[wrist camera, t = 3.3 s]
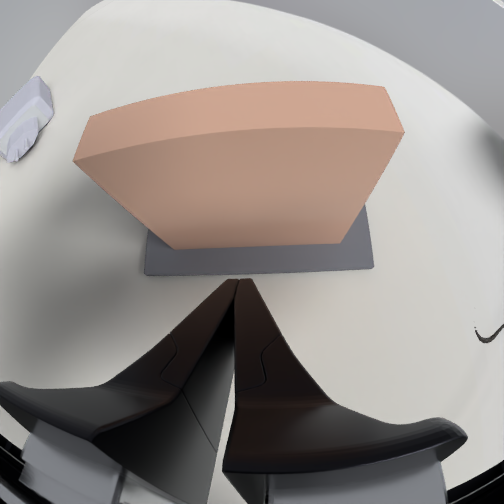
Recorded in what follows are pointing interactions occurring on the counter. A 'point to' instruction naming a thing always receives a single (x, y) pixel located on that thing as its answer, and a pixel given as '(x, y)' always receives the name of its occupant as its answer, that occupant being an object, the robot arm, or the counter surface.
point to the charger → (24, 118)
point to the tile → (245, 161)
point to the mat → (263, 256)
